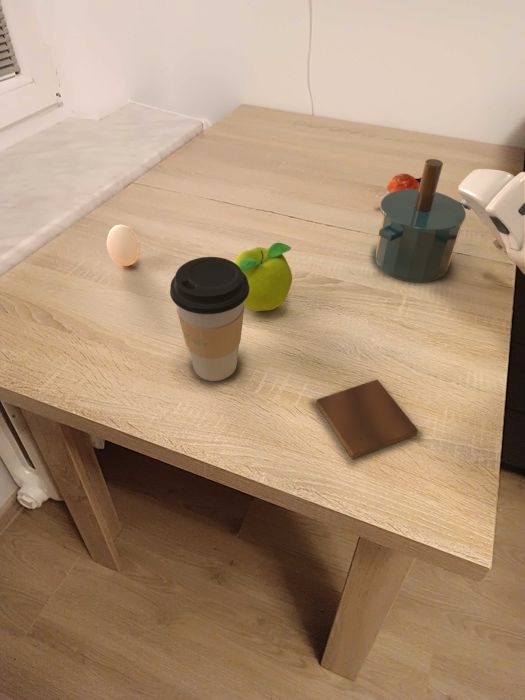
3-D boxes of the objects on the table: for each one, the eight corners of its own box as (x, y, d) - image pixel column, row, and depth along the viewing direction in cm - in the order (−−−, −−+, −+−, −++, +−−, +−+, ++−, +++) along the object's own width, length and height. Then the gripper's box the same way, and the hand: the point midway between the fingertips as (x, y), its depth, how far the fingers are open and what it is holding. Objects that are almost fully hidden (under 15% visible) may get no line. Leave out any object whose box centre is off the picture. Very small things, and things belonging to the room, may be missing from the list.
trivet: (376, 384, 66) (377, 379, 66) (416, 435, 60) (418, 430, 60) (315, 404, 64) (316, 399, 63) (351, 459, 58) (353, 454, 57)
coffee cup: (168, 380, 67) (153, 289, 56) (199, 335, 73) (190, 246, 63) (234, 399, 64) (230, 308, 54) (259, 351, 71) (260, 262, 60)
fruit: (302, 310, 77) (306, 255, 71) (250, 331, 74) (250, 275, 67) (270, 280, 83) (271, 226, 76) (220, 298, 79) (217, 243, 72)
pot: (472, 260, 88) (489, 211, 81) (404, 297, 80) (417, 246, 73) (417, 231, 95) (429, 183, 88) (349, 262, 87) (357, 212, 81)
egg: (105, 265, 86) (95, 227, 81) (128, 252, 89) (120, 214, 84) (126, 276, 83) (117, 238, 78) (149, 262, 86) (142, 224, 81)
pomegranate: (390, 228, 100) (437, 200, 96) (372, 199, 96) (420, 169, 92) (385, 214, 106) (429, 187, 102) (368, 186, 102) (413, 157, 98)
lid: (480, 217, 81) (498, 165, 75) (430, 245, 75) (445, 191, 69) (413, 188, 88) (424, 138, 82) (362, 211, 82) (371, 159, 76)
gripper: (598, 270, 69) (531, 250, 81) (522, 162, 61) (461, 159, 74) (563, 303, 70) (502, 279, 83) (483, 201, 62) (429, 192, 75)
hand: (482, 221), depth 78 cm, fingers open, 8 cm apart
